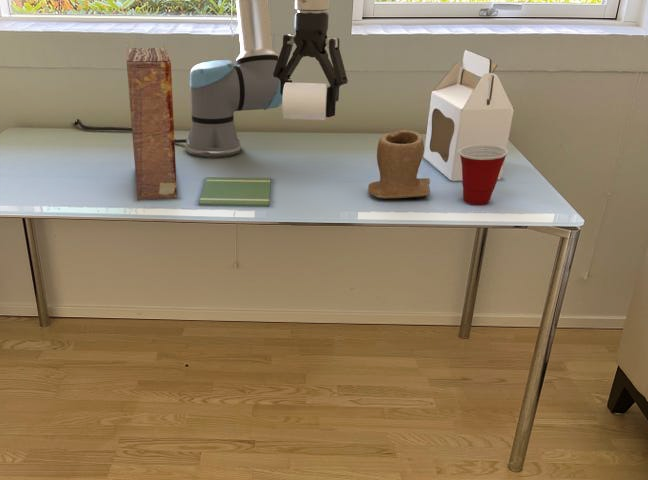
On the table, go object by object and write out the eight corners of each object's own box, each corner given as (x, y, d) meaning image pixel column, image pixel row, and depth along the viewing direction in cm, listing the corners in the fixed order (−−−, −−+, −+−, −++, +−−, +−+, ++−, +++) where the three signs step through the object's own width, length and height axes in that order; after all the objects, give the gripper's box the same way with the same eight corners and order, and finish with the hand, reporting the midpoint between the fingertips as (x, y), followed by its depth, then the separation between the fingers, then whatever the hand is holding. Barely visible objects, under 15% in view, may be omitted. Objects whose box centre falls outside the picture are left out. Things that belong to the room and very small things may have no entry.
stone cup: (374, 205, 165) (380, 138, 158) (364, 189, 175) (369, 126, 168) (439, 204, 166) (448, 138, 158) (425, 188, 176) (433, 125, 169)
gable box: (501, 180, 182) (523, 61, 168) (451, 181, 181) (468, 62, 167) (468, 156, 201) (485, 47, 187) (422, 157, 200) (436, 48, 186)
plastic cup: (445, 194, 172) (452, 143, 166) (489, 193, 173) (497, 142, 167) (459, 209, 163) (468, 156, 157) (506, 208, 164) (516, 155, 158)
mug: (324, 123, 166) (326, 87, 162) (281, 121, 168) (282, 85, 164) (328, 112, 177) (330, 78, 173) (288, 111, 178) (289, 76, 174)
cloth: (198, 205, 165) (198, 202, 165) (207, 178, 182) (206, 176, 182) (269, 206, 164) (269, 204, 164) (270, 179, 182) (270, 177, 181)
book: (136, 169, 189) (126, 45, 173) (172, 168, 190) (165, 44, 174) (137, 201, 167) (126, 62, 152) (177, 199, 168) (170, 61, 153)
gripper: (258, 9, 164) (258, 109, 175) (349, 15, 152) (343, 122, 162) (278, 7, 169) (276, 104, 180) (367, 13, 157) (360, 116, 168)
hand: (308, 113), depth 171 cm, fingers closed on mug, 12 cm apart
